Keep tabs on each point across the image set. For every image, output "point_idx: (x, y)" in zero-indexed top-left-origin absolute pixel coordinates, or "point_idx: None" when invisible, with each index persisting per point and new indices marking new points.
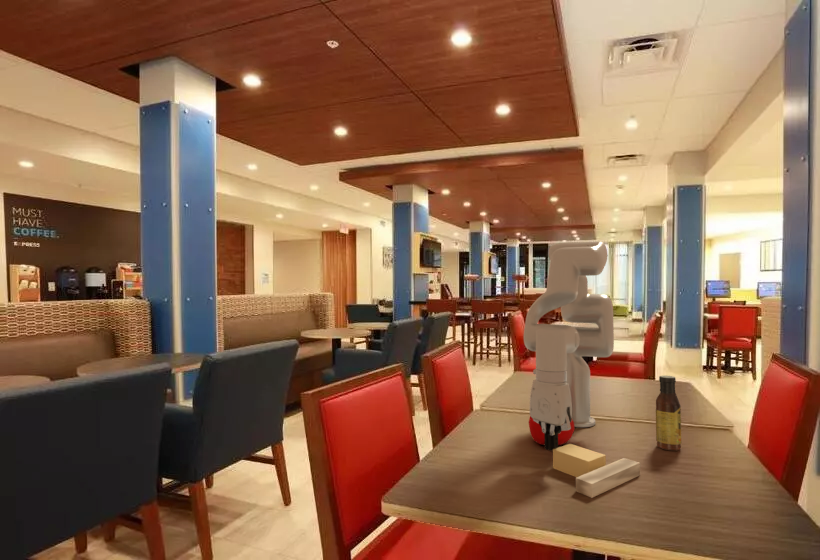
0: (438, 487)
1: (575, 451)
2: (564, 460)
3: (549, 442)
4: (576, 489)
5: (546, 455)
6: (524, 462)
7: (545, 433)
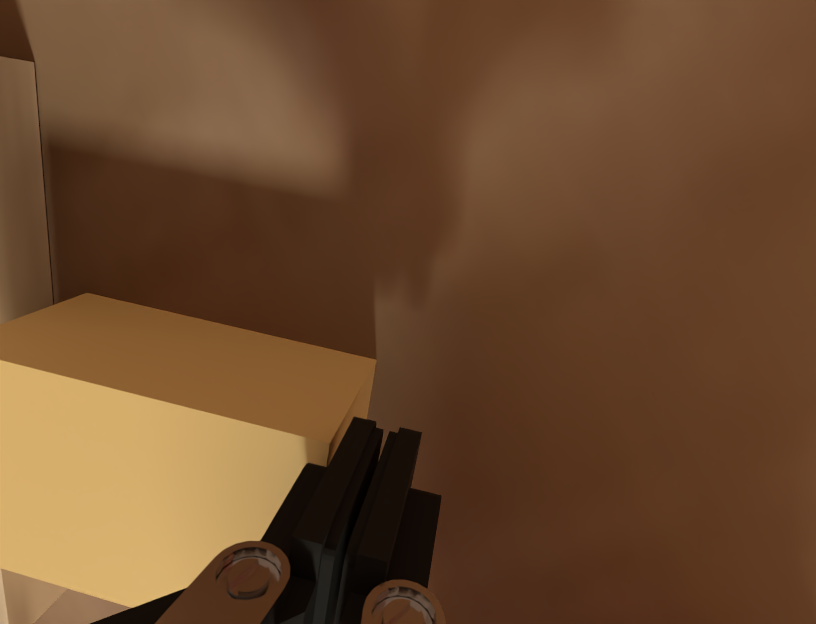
0: None
1: (156, 507)
2: (227, 374)
3: (332, 468)
4: (15, 60)
5: (537, 555)
6: (621, 324)
7: (385, 578)
